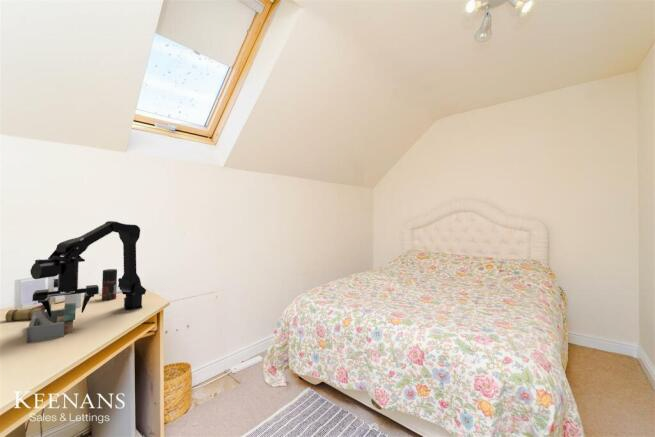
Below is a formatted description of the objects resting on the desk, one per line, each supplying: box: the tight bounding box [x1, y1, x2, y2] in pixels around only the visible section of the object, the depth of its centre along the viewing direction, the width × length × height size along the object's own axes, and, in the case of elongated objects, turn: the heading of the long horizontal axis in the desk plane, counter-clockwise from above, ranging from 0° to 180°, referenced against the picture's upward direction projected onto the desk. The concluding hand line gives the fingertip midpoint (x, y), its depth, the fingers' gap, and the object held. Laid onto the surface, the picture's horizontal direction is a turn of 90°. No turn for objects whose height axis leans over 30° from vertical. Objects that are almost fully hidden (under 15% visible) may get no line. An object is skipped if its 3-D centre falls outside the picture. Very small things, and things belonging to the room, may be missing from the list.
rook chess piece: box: [33, 308, 53, 326], centre depth 107 cm, size 4×4×8 cm
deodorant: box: [101, 268, 118, 302], centre depth 150 cm, size 6×6×15 cm
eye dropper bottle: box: [64, 291, 82, 309], centre depth 135 cm, size 4×6×12 cm
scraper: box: [56, 303, 77, 335], centre depth 112 cm, size 5×14×9 cm, turn 40°
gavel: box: [4, 303, 53, 322], centre depth 126 cm, size 21×5×10 cm
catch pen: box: [26, 308, 65, 344], centre depth 108 cm, size 9×19×5 cm, turn 41°
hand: (66, 314), depth 112 cm, fingers open, 9 cm apart
